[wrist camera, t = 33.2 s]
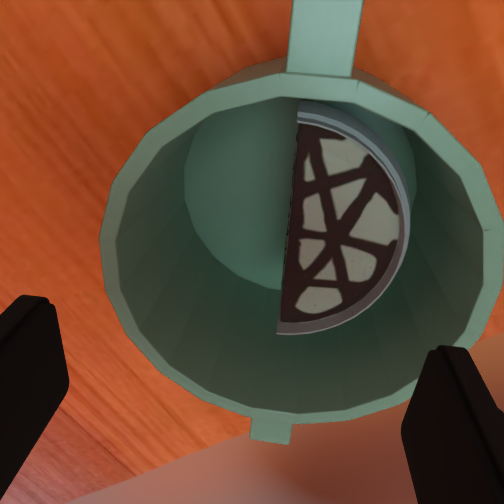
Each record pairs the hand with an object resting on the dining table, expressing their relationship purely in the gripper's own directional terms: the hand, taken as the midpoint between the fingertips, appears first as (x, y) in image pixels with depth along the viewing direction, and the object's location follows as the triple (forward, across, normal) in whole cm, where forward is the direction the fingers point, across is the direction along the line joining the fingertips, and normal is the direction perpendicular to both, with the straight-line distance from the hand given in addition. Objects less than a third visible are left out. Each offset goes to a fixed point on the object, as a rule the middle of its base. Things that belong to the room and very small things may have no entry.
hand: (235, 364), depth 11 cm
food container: (+20, -4, +2) cm, 21 cm away
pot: (+20, -2, +3) cm, 21 cm away
